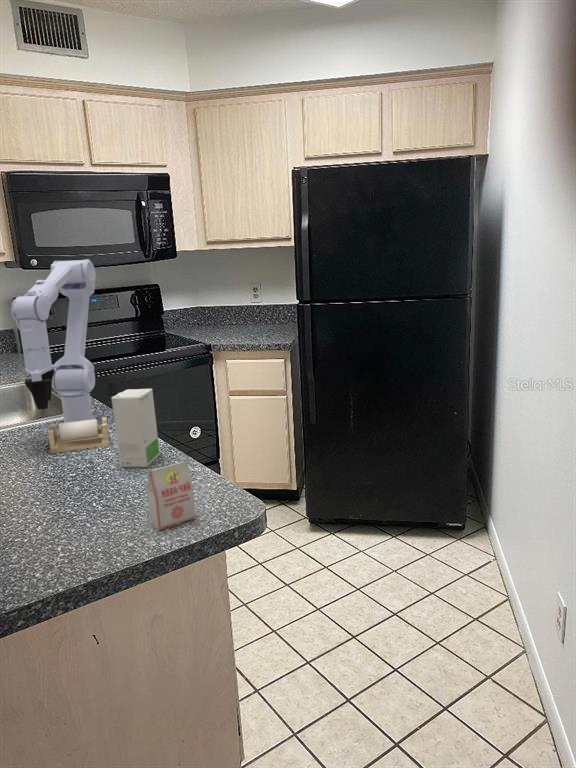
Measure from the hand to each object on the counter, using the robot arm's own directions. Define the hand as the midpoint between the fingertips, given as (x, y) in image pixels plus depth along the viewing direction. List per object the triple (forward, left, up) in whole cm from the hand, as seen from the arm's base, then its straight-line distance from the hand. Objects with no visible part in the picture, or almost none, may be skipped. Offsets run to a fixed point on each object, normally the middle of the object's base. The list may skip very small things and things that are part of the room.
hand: (44, 404), depth 142 cm
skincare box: (+19, +20, -11) cm, 30 cm away
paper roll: (+2, +7, -7) cm, 10 cm away
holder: (+2, +7, -10) cm, 13 cm away
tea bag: (+51, +24, -11) cm, 57 cm away
